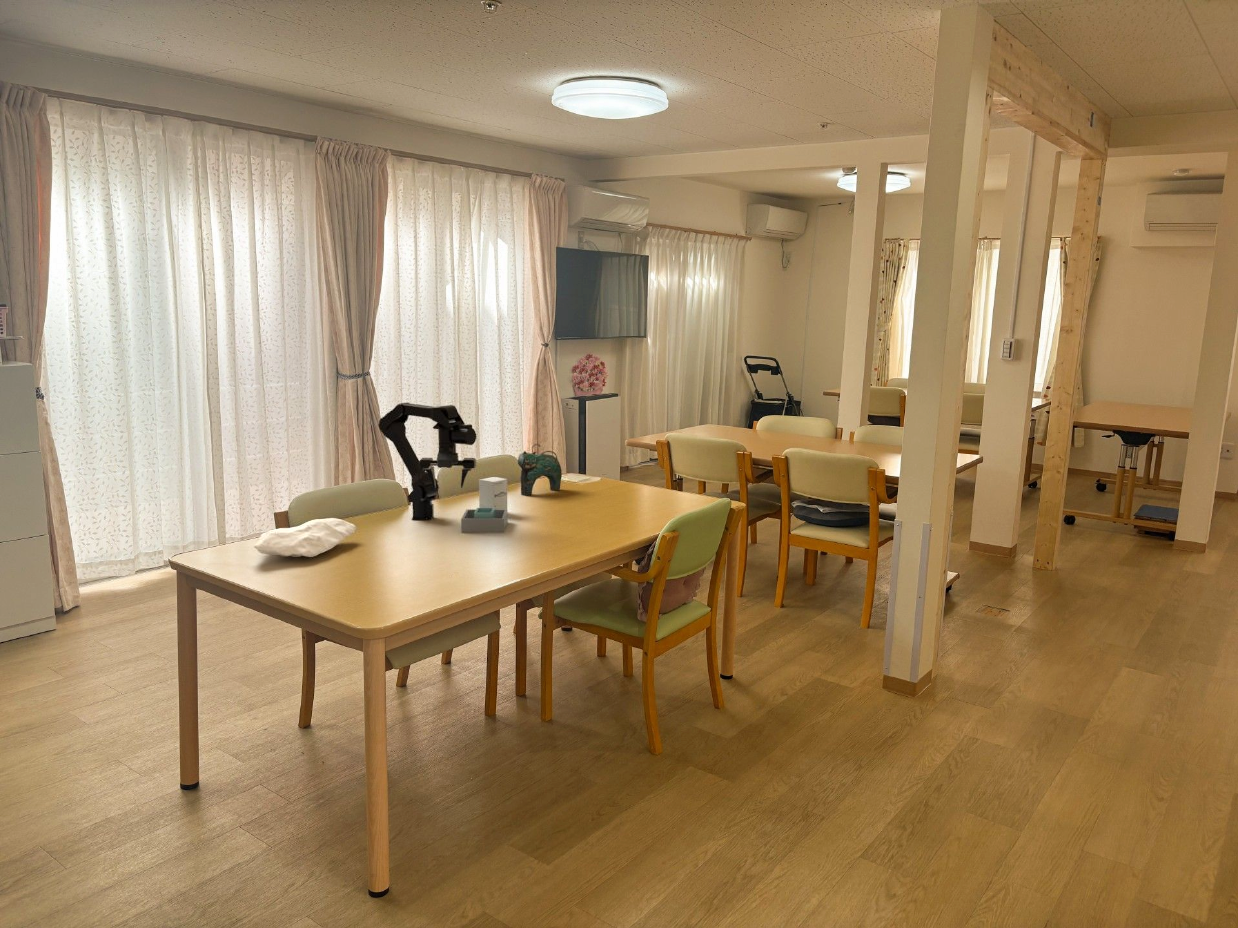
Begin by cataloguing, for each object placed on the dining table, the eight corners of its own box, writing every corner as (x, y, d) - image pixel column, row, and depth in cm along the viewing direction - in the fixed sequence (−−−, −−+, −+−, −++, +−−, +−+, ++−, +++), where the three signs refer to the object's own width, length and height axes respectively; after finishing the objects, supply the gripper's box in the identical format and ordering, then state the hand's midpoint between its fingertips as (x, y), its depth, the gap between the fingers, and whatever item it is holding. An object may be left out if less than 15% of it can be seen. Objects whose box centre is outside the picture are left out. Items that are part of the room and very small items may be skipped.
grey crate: (461, 532, 289) (461, 519, 288) (466, 522, 303) (466, 509, 302) (504, 532, 290) (504, 519, 289) (507, 522, 303) (507, 509, 303)
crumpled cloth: (225, 554, 256) (225, 525, 253) (320, 528, 285) (322, 502, 283) (279, 579, 245) (281, 549, 242) (373, 549, 274) (375, 522, 272)
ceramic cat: (524, 497, 343) (523, 446, 340) (514, 494, 348) (514, 444, 344) (564, 490, 356) (564, 441, 353) (554, 488, 361) (554, 439, 357)
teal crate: (474, 527, 292) (474, 513, 291) (477, 521, 300) (476, 507, 299) (492, 527, 292) (492, 513, 291) (494, 521, 300) (494, 507, 299)
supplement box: (493, 516, 311) (493, 481, 309) (478, 513, 315) (478, 479, 313) (508, 513, 317) (507, 478, 314) (493, 510, 321) (493, 476, 319)
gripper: (415, 446, 289) (416, 492, 292) (472, 446, 290) (473, 492, 293) (420, 441, 300) (422, 486, 303) (476, 441, 301) (476, 486, 304)
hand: (448, 487), depth 300 cm, fingers open, 9 cm apart
